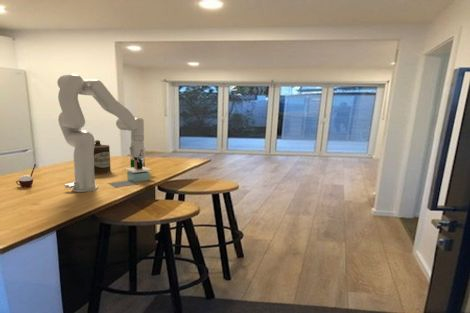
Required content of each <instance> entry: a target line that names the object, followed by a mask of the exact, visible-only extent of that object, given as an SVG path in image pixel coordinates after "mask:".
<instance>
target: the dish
mask: <svg viewBox="0 0 470 313" xmlns="http://www.w3.org/2000/svg"><path fill="white" fill-rule="evenodd" d="M126 175H127V180H130V181H132V182H134V183H137V182H144V181H149V180H150V179H151V176H150V175H151V174H150V171H145V172H136V173H132V172H130V171H127V173H126Z"/></svg>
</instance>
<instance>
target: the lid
mask: <svg viewBox="0 0 470 313" xmlns="http://www.w3.org/2000/svg"><path fill="white" fill-rule="evenodd" d="M124 170H125V171H127V172H128V171H130V172H132V173H136V172H145V171H147V172H150V171H153V170H152V168H149V167H146V166H145V167H144V166H142V168H140V169H137V160H134V167H133V168H131V167H125V168H124Z"/></svg>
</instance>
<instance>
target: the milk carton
mask: <svg viewBox="0 0 470 313" xmlns="http://www.w3.org/2000/svg"><path fill="white" fill-rule="evenodd" d="M129 154H130V155H129V156H130V158H129V159H130V168H133V167H134V158H133V156H131V146H129ZM145 156H146V147H145V146H144V158H143V160H142V161H143V162H142V166H144V167H146V165H145V164H146V161H145V160H146V157H145ZM139 157H141V156H139Z"/></svg>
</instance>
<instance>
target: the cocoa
mask: <svg viewBox="0 0 470 313" xmlns="http://www.w3.org/2000/svg"><path fill="white" fill-rule="evenodd" d="M36 165H37V164H34V165H33V168H32V170H31V173H30V175H28V174H23V175H21V176H20V177H19V180H16V182H15V183H16V184H17V185H18V186H20V187H23V188H29V187H31V186H32V185H33V182H34V177H33V174H34V171H35V168H36Z"/></svg>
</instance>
